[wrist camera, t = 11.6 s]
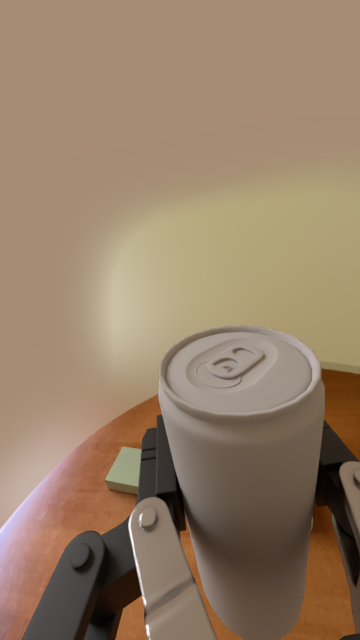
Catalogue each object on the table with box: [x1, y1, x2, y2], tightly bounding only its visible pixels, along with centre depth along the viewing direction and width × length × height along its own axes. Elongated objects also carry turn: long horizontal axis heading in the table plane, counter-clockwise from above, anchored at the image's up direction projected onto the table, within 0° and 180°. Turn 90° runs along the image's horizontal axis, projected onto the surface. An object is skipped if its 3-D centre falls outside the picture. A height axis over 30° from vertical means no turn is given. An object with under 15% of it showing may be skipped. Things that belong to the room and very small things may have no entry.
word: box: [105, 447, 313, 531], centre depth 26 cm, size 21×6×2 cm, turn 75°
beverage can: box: [158, 325, 325, 640], centre depth 9 cm, size 5×5×12 cm
